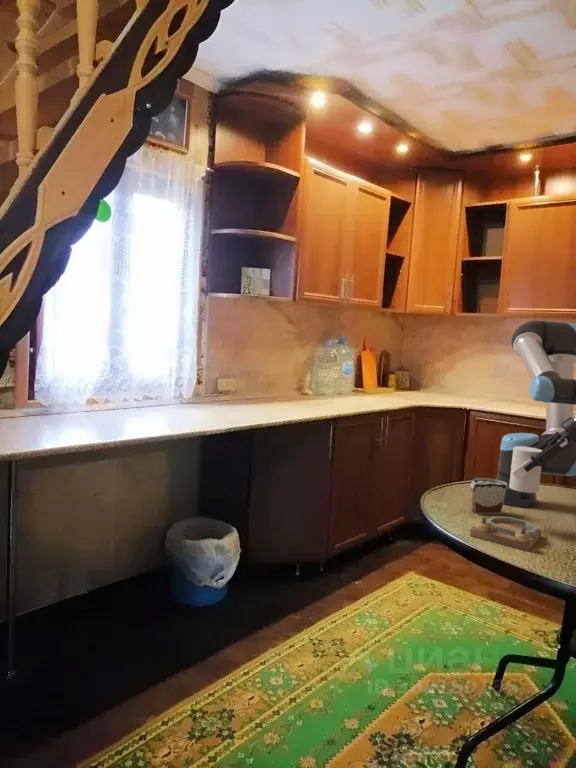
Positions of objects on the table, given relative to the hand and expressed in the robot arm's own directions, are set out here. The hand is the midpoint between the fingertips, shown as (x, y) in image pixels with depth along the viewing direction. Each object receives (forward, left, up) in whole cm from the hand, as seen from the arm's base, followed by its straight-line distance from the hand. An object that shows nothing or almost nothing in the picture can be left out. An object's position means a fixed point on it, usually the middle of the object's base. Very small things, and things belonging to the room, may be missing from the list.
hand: (514, 472), depth 173 cm
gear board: (+13, +3, -16) cm, 20 cm away
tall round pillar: (-1, +3, -5) cm, 6 cm away
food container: (-7, -10, -16) cm, 20 cm away
